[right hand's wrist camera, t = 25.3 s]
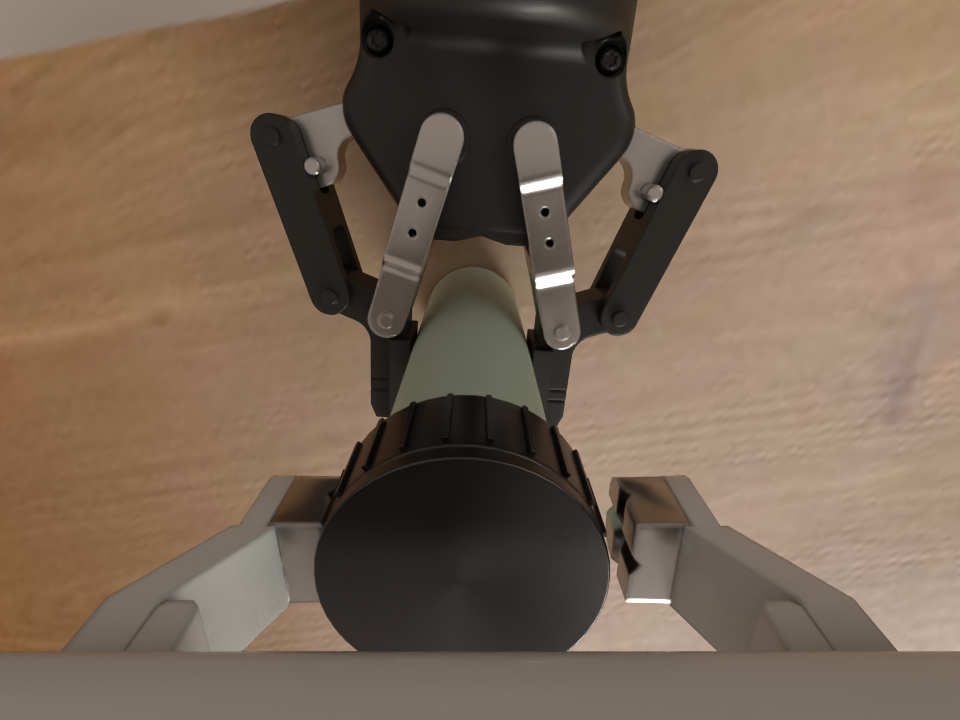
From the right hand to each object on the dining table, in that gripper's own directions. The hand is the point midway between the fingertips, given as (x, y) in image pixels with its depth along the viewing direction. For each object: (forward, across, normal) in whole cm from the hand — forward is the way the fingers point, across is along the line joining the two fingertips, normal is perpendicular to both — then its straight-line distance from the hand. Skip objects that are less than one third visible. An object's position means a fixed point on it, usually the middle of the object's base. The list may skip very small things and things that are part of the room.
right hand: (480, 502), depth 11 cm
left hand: (+8, 0, -3) cm, 9 cm away
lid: (-2, 0, 0) cm, 2 cm away
